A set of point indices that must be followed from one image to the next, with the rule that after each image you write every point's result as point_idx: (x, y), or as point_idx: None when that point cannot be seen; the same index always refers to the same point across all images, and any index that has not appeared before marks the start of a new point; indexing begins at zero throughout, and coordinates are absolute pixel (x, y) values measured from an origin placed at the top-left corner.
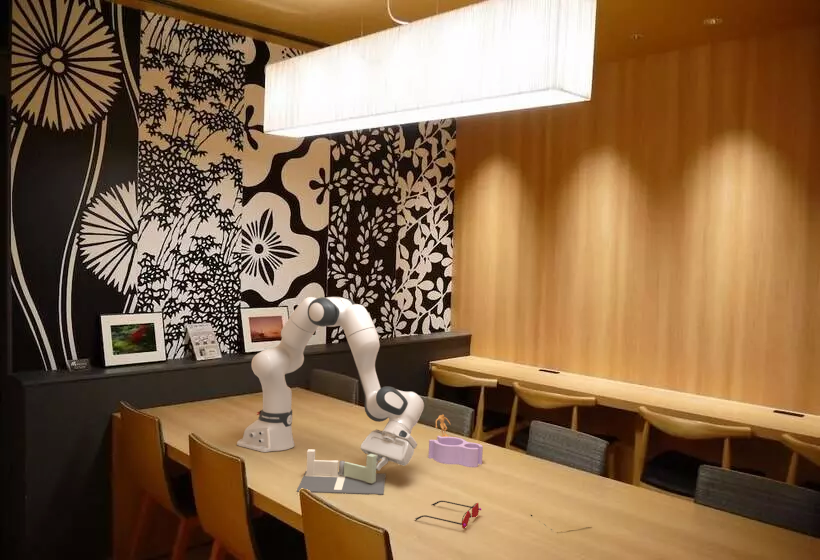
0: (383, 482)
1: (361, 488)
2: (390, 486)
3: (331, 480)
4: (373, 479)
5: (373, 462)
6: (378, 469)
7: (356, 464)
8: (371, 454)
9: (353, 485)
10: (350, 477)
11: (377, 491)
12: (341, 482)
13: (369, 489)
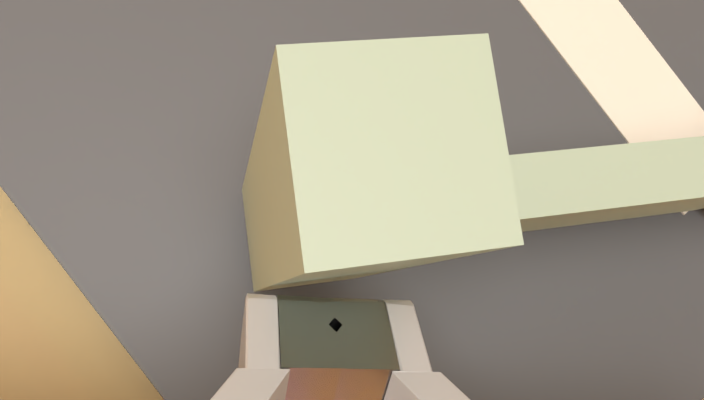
0: (185, 395)
1: (261, 18)
2: (36, 386)
3: (681, 3)
4: (249, 227)
5: (269, 150)
6: (242, 333)
7: (657, 195)
8: (463, 211)
9: (404, 37)
10: (617, 223)
11: (24, 66)
12: (564, 20)
13: (159, 56)
